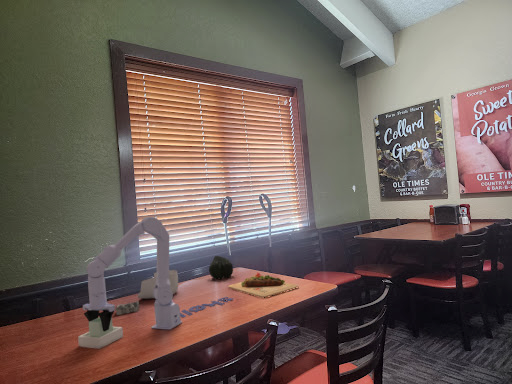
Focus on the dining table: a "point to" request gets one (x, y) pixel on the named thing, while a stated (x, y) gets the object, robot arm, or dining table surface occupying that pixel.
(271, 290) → the cutting board
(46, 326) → the dining table surface
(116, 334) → the tray
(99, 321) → the green crate
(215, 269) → the squash
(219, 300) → the signage
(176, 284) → the cream block
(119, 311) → the egg carton
